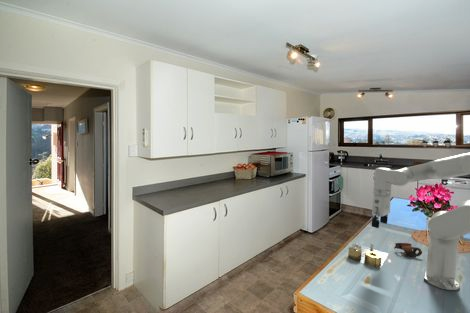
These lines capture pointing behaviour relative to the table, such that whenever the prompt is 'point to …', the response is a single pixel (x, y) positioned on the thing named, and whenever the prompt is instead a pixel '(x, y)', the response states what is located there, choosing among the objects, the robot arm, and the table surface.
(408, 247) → the brown clawed ring bracket
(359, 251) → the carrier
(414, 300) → the table surface
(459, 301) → the table surface
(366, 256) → the planet gear
